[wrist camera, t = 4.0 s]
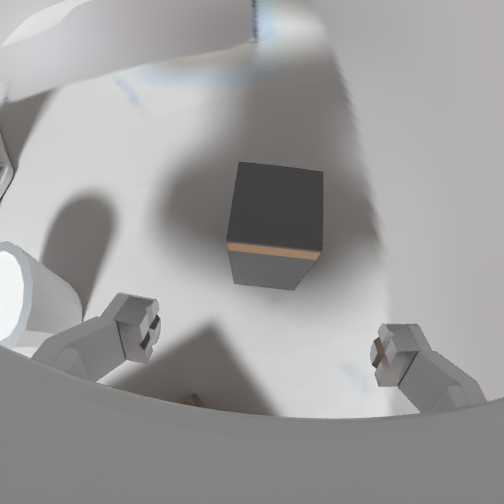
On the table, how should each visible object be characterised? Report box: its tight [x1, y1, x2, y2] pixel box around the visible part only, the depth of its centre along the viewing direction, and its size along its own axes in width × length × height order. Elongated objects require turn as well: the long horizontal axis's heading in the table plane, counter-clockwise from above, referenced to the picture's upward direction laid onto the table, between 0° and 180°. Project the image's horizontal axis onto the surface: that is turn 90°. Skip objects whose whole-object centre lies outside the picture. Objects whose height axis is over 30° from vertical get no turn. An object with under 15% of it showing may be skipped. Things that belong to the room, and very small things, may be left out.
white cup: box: [0, 241, 82, 354], centre depth 16 cm, size 7×7×7 cm
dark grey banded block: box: [227, 162, 323, 290], centre depth 17 cm, size 4×4×8 cm
